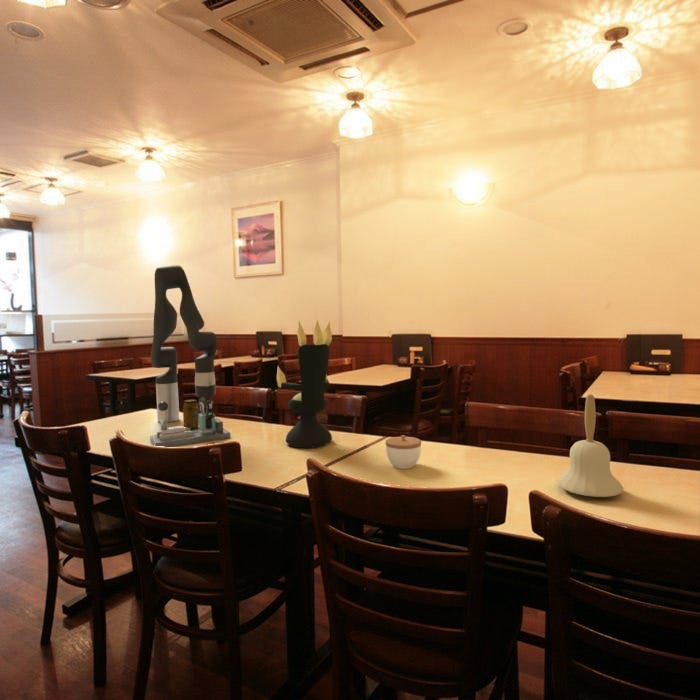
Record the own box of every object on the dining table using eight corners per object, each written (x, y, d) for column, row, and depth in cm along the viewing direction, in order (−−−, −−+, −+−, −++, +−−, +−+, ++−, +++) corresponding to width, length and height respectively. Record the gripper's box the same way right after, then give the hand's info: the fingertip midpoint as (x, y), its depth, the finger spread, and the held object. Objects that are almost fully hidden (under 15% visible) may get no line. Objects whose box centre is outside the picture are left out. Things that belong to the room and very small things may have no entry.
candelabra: (324, 434, 195) (321, 318, 191) (349, 447, 175) (346, 318, 171) (277, 440, 187) (273, 319, 183) (297, 455, 167) (293, 319, 163)
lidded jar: (385, 460, 158) (384, 431, 158) (419, 460, 158) (419, 430, 157) (386, 471, 148) (386, 440, 147) (423, 471, 147) (423, 439, 147)
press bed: (150, 441, 190) (149, 425, 190) (221, 431, 204) (220, 416, 203) (155, 448, 179) (155, 432, 179) (230, 437, 193) (229, 422, 192)
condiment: (196, 426, 215) (195, 398, 214) (204, 429, 208) (203, 400, 208) (179, 428, 210) (178, 400, 209) (187, 432, 204) (185, 403, 203)
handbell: (637, 501, 121) (639, 398, 119) (577, 504, 119) (578, 400, 118) (599, 480, 136) (600, 388, 134) (545, 483, 135) (546, 390, 133)
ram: (158, 436, 188) (156, 401, 187) (186, 432, 193) (184, 398, 192) (160, 438, 184) (158, 402, 183) (188, 434, 189) (187, 399, 188)
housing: (199, 429, 196) (198, 414, 195) (212, 427, 198) (211, 412, 198) (202, 431, 191) (201, 416, 191) (215, 430, 194) (214, 414, 193)
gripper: (191, 382, 198) (193, 425, 199) (199, 386, 185) (201, 432, 186) (210, 380, 201) (212, 422, 203) (220, 384, 189) (221, 429, 190)
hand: (207, 427), depth 195 cm, fingers closed on housing, 5 cm apart
